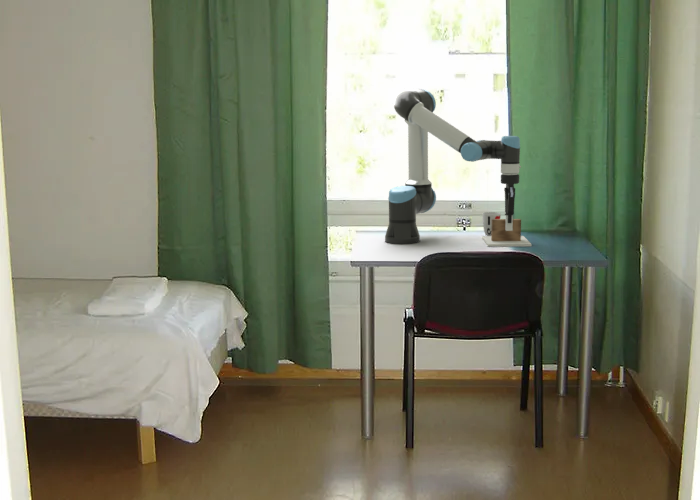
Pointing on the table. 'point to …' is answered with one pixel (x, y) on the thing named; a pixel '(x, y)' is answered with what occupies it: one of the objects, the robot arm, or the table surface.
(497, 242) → the mat
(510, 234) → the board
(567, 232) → the table surface
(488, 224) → the cup
